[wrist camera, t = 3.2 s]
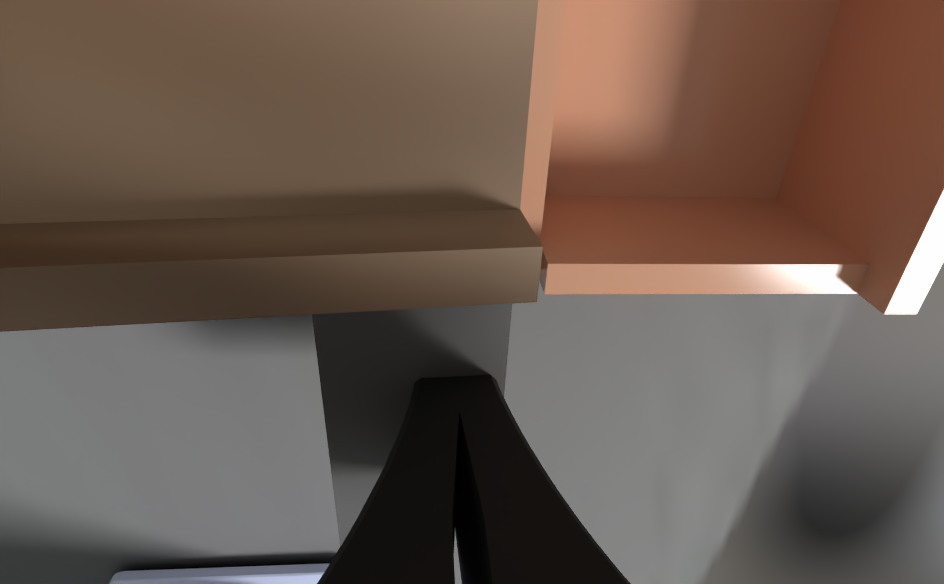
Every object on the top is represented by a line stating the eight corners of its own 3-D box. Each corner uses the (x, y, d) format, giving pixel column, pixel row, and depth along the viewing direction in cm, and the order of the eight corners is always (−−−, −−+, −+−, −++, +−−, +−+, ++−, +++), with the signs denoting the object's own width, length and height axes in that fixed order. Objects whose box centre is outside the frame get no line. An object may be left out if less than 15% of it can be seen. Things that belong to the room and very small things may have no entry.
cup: (779, 212, 14) (916, 314, 10) (490, 210, 13) (515, 316, 9) (953, -309, 9) (1332, -496, 5) (522, -346, 9) (598, -583, 5)
